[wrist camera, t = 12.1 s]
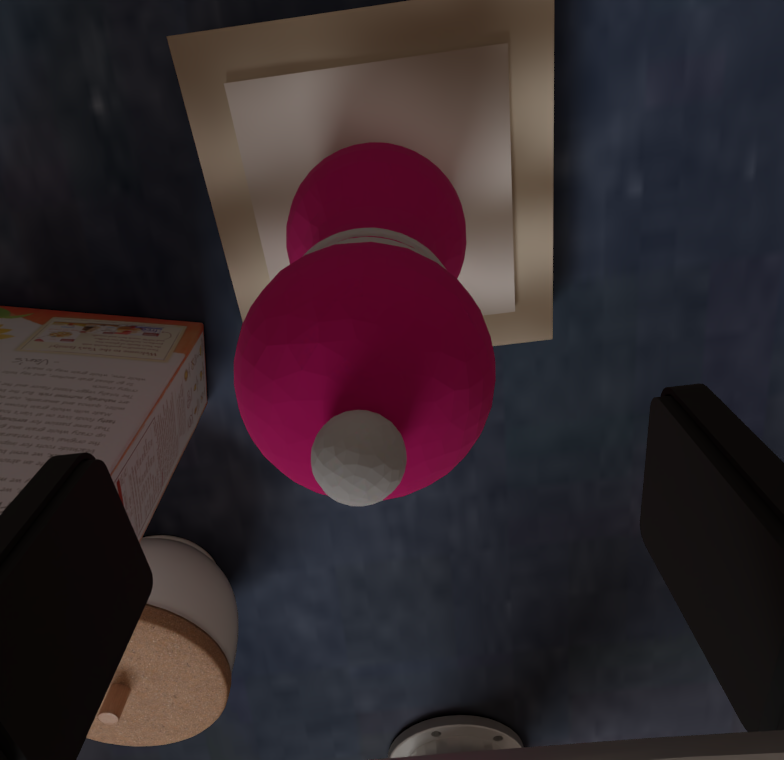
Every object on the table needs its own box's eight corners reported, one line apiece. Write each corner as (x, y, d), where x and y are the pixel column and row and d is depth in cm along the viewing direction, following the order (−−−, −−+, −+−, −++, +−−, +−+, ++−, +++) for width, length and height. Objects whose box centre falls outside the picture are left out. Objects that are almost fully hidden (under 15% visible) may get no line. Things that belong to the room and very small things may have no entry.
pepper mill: (293, 131, 26) (90, 294, 8) (458, 127, 26) (597, 283, 8) (308, 288, 29) (186, 632, 12) (453, 285, 29) (544, 626, 12)
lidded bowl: (231, 644, 47) (191, 796, 38) (69, 604, 45) (-18, 754, 35) (277, 535, 42) (245, 679, 32) (96, 482, 39) (1, 621, 30)
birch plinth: (539, 317, 34) (554, 342, 31) (266, 349, 35) (255, 377, 32) (537, -14, 26) (556, -23, 23) (187, 38, 27) (163, 36, 24)
